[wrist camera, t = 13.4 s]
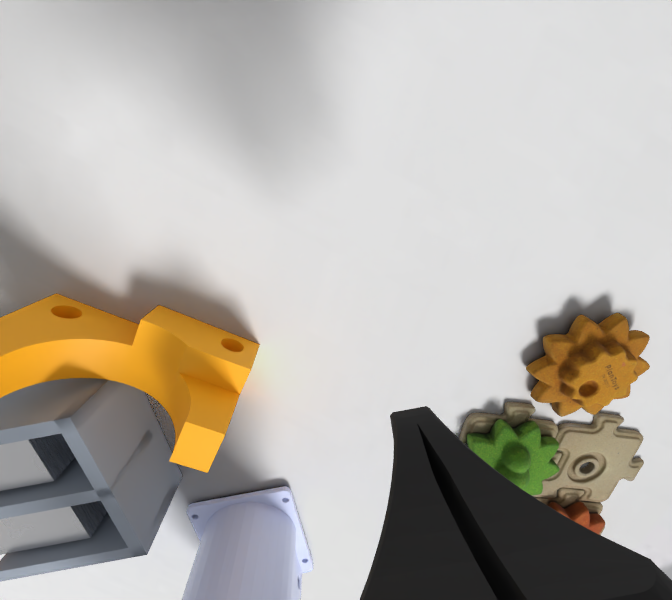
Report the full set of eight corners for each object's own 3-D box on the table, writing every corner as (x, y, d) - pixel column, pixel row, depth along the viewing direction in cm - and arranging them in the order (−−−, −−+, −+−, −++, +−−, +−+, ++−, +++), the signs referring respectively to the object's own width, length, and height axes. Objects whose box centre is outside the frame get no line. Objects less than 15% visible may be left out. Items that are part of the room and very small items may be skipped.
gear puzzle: (501, 289, 22) (541, 313, 18) (713, 324, 23) (791, 352, 20) (391, 596, 32) (401, 654, 28) (545, 604, 34) (574, 658, 30)
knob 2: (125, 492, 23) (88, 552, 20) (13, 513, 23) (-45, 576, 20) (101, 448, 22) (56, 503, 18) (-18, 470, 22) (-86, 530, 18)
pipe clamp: (260, 343, 22) (238, 406, 16) (236, 395, 23) (207, 472, 17) (64, 266, 19) (-52, 305, 13) (49, 328, 20) (-63, 391, 14)
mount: (182, 476, 25) (147, 554, 19) (64, 497, 25) (-3, 582, 20) (129, 359, 21) (69, 417, 16) (-8, 385, 21) (-111, 451, 16)
